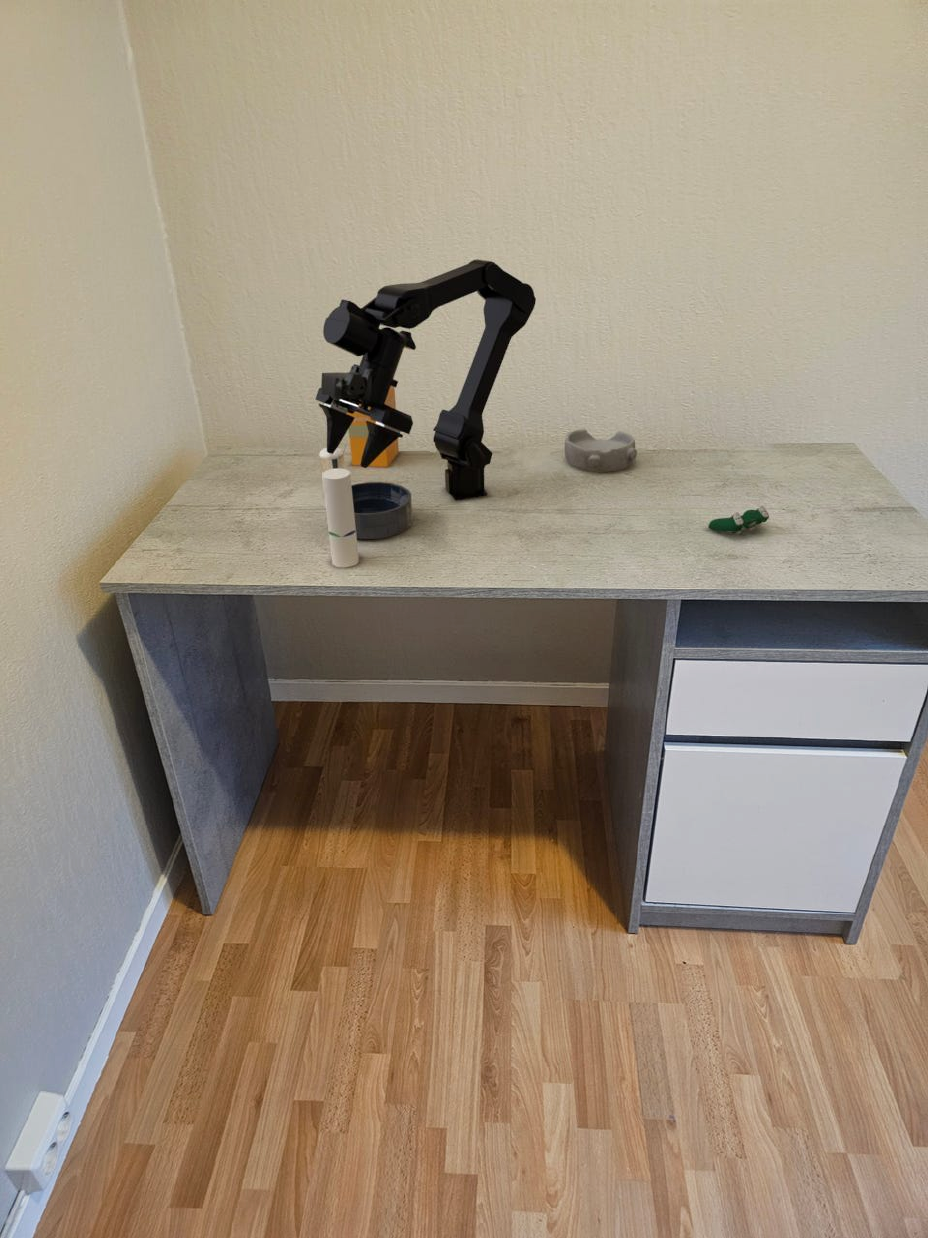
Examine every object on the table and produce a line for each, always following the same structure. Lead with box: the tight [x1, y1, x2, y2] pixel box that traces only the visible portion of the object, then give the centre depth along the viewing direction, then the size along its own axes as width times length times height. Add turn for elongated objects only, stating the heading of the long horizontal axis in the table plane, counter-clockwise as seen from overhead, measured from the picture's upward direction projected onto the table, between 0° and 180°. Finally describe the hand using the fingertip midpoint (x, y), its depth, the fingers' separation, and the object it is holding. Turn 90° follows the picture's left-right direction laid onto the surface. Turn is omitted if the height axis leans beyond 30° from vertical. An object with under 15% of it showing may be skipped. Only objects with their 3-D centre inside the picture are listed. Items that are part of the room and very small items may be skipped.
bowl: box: [351, 481, 414, 540], centre depth 145 cm, size 14×14×5 cm
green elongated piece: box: [707, 505, 770, 535], centre depth 140 cm, size 9×4×6 cm
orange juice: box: [347, 386, 400, 468], centre depth 169 cm, size 8×9×20 cm
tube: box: [321, 468, 360, 568], centre depth 131 cm, size 4×4×15 cm
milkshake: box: [318, 443, 348, 473], centre depth 156 cm, size 4×5×10 cm
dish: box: [564, 428, 638, 472], centre depth 168 cm, size 14×14×5 cm
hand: (346, 459), depth 135 cm, fingers open, 9 cm apart
